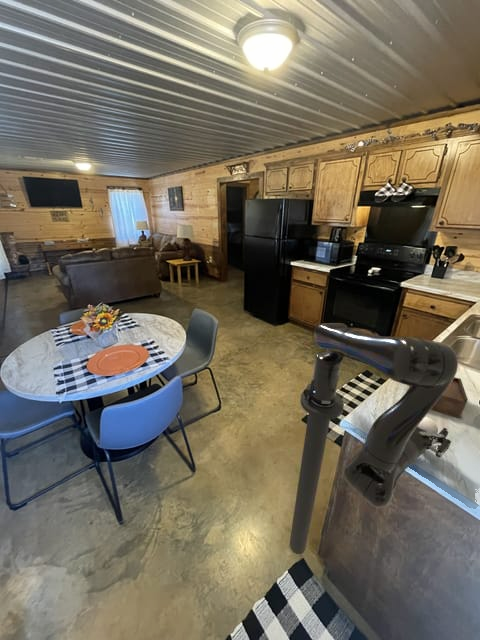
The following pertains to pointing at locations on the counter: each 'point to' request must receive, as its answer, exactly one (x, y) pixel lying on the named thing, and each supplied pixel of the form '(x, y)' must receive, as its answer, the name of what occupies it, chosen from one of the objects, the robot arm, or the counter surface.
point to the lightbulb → (428, 425)
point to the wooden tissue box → (452, 399)
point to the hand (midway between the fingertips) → (429, 421)
